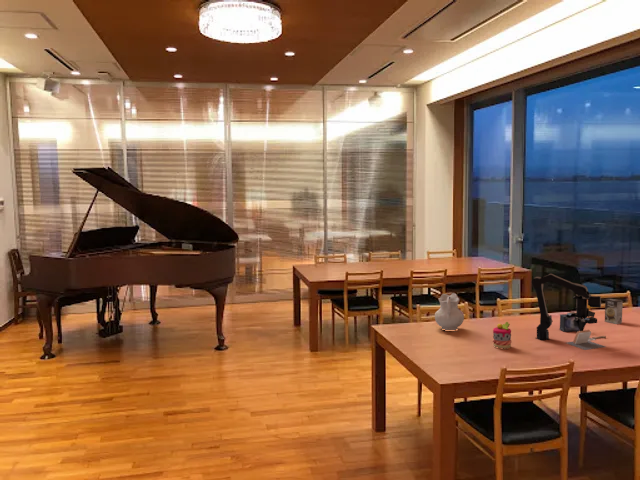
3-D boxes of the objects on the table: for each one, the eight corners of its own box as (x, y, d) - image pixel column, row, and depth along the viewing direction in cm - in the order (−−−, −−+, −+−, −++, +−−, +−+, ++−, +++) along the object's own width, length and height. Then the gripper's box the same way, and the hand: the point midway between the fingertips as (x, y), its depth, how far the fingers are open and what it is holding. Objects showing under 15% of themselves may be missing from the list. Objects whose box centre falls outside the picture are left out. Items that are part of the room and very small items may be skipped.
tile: (575, 344, 319) (579, 333, 316) (573, 342, 321) (577, 331, 317) (587, 342, 322) (591, 331, 318) (585, 340, 324) (589, 329, 320)
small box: (564, 332, 348) (564, 316, 347) (559, 329, 354) (559, 314, 353) (579, 331, 348) (580, 315, 347) (574, 329, 354) (575, 313, 353)
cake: (499, 350, 314) (499, 325, 312) (489, 345, 324) (489, 321, 323) (515, 348, 317) (515, 323, 315) (504, 343, 327) (504, 319, 325)
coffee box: (604, 321, 371) (604, 298, 370) (610, 320, 374) (610, 297, 372) (616, 324, 363) (616, 301, 361) (622, 323, 365) (623, 300, 364)
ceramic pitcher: (467, 335, 351) (469, 298, 348) (437, 334, 351) (440, 296, 349) (459, 327, 372) (461, 292, 370) (431, 325, 372) (433, 290, 370)
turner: (588, 341, 325) (588, 339, 325) (582, 339, 330) (582, 337, 330) (608, 339, 330) (608, 337, 330) (601, 336, 335) (601, 335, 334)
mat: (584, 350, 308) (584, 350, 308) (564, 343, 323) (564, 342, 323) (606, 347, 313) (606, 346, 312) (585, 340, 328) (585, 339, 328)
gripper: (604, 308, 312) (604, 334, 314) (580, 302, 330) (580, 326, 331) (589, 309, 309) (589, 336, 310) (565, 303, 327) (565, 328, 328)
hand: (581, 331), depth 320 cm, fingers closed
